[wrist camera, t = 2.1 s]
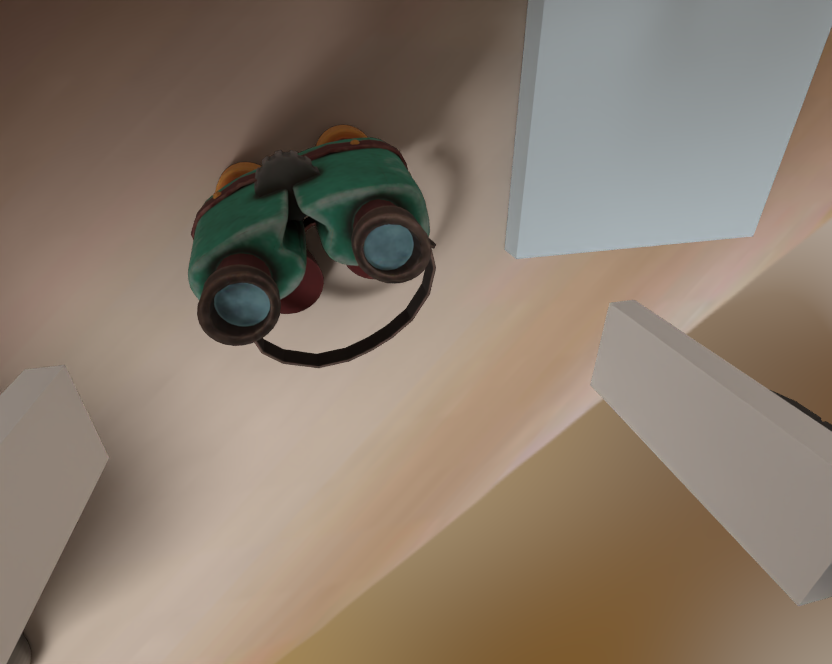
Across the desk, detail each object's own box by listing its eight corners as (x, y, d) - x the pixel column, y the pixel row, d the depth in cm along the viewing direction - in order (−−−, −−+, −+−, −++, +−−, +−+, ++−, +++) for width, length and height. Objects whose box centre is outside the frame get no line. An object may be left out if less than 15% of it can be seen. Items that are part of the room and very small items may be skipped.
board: (504, 249, 24) (516, 259, 23) (540, -128, 17) (560, -145, 16) (731, 229, 27) (753, 236, 26) (845, -99, 20) (883, -112, 19)
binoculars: (289, 496, 16) (95, 272, 10) (282, 334, 25) (172, 157, 19) (513, 404, 17) (455, 133, 11) (432, 275, 25) (373, 82, 19)
